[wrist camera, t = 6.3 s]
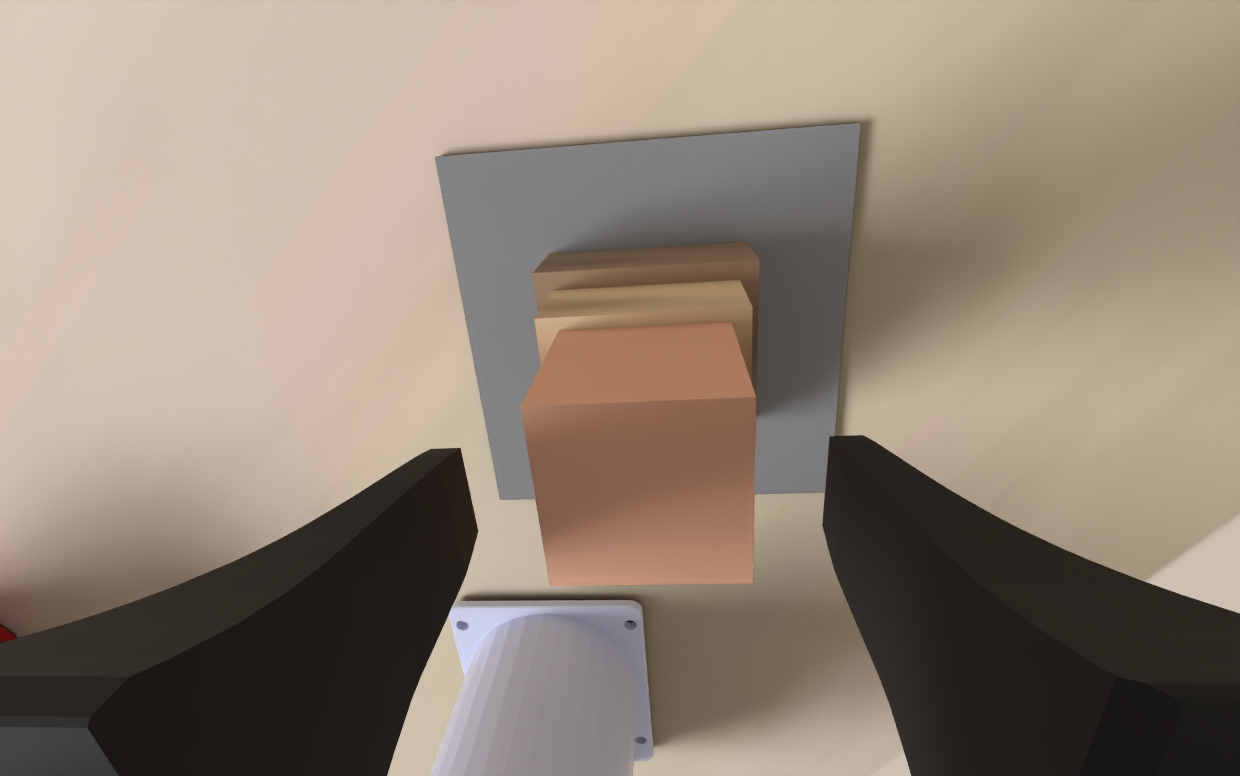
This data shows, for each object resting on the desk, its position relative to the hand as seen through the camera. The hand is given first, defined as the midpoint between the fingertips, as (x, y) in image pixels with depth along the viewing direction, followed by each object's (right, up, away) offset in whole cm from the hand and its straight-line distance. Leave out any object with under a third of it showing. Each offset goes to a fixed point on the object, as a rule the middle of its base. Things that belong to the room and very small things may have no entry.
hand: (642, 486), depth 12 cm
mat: (+1, +4, +8) cm, 9 cm away
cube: (0, +2, +3) cm, 3 cm away
